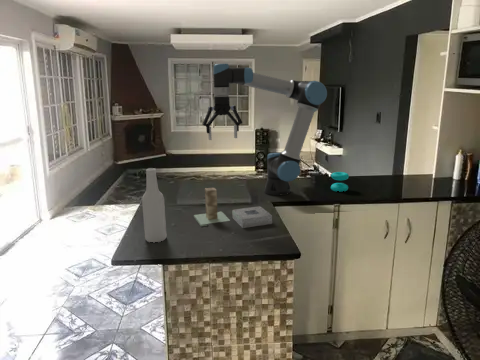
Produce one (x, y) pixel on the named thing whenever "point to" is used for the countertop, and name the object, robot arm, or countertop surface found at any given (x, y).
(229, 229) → the countertop surface
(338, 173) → the donuts
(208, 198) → the square peg
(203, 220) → the pad
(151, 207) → the alcohol
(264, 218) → the hole block
